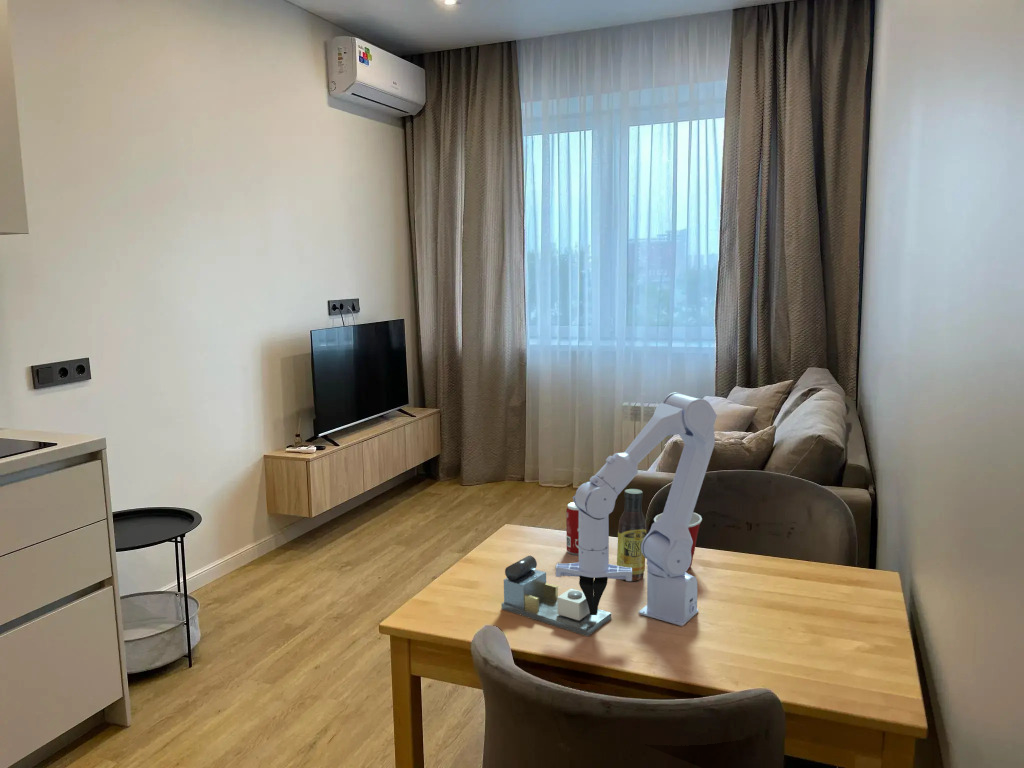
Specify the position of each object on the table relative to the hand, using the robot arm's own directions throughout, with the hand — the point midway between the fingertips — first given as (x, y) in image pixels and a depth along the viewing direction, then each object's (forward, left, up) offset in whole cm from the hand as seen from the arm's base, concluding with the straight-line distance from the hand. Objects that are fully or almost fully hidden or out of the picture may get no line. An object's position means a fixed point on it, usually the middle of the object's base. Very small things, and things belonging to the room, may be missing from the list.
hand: (593, 612), depth 145 cm
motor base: (+10, 0, -3) cm, 10 cm away
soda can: (+23, -31, -3) cm, 39 cm away
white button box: (+4, 0, -1) cm, 4 cm away
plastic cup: (-1, -36, -3) cm, 36 cm away
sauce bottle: (+5, -25, -3) cm, 26 cm away
